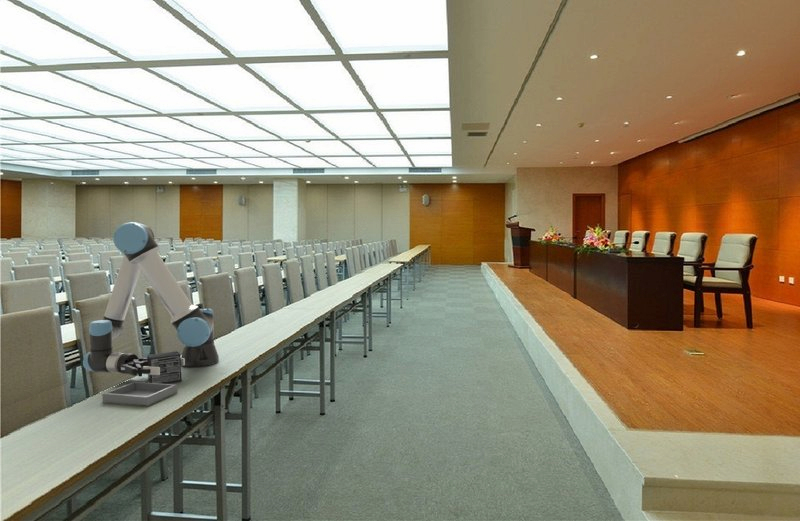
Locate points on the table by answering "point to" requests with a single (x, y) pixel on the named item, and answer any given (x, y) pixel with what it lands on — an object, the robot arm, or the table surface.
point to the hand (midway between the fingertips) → (172, 366)
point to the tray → (140, 394)
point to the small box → (165, 367)
